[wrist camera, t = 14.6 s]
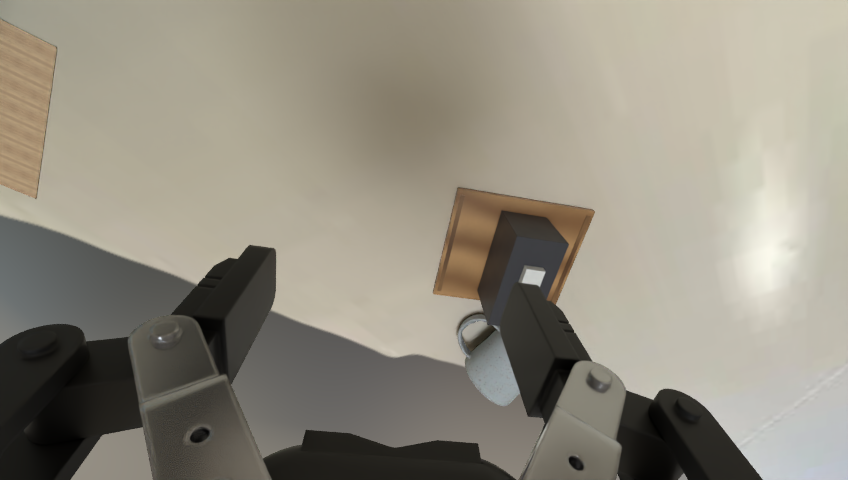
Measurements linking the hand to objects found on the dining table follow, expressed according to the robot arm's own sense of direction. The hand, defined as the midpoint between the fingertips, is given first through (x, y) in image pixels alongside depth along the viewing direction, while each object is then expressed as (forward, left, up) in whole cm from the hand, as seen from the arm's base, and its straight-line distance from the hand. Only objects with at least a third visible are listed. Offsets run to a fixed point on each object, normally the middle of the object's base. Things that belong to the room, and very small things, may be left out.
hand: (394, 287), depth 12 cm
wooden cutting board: (+12, +15, -28) cm, 34 cm away
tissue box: (+12, +15, -28) cm, 34 cm away
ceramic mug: (+25, +16, -28) cm, 41 cm away
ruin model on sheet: (+2, -46, -28) cm, 54 cm away
